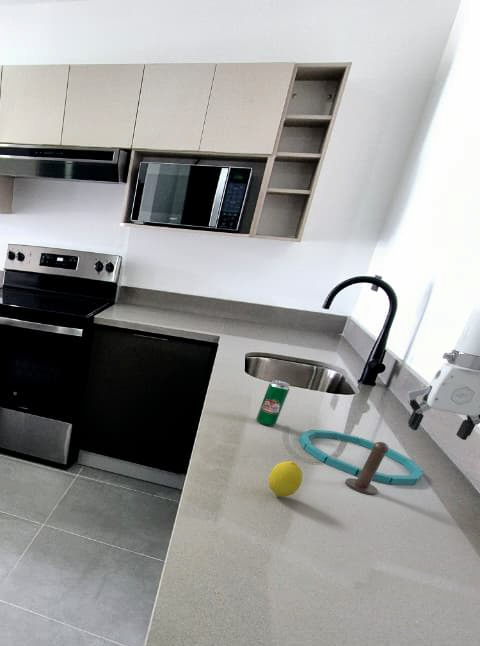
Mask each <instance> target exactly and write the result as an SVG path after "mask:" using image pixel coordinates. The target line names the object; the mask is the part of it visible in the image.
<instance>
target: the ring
mask: <svg viewBox="0 0 480 646" xmlns="http://www.w3.org/2000/svg"><path fill="white" fill-rule="evenodd" d="M313 438H318V439H332V440H338V441H342V442H346V443H351V444H355V445H358V446H361V447H364V448H367V449H369V450H372V446H373V445H374V444H375V443H376V442H375V441H371V440H368V439H366V438H363V437H359V436H357V435H351V434H347V433H344V432H339V431H334V430H326V429H325V430H323V429H309V430H306V431H305V432H302V433H301V434H300V436H299V437H298V442H299V444H300V445H301V447H302V449H303V450H304V452H306V453H307V454H310V455H311V456H312V457H314V458H315V459H317V460H318V461H320V462H322V463H324V464H326V465H328V466H330V467H333V468H335V469H337V470H340V471H343V472H345V473H348V474H350V475H353V476H356V477H357V478H358V477H359V475H360V473H361V471H362V469H363V467H357V466H356V465H353V464H350V463H348V462H346V461H343V460H341V459H339V458H336V457H333V456H331V455H329V454H328V453H325V452H324V451H323V450H321V449H319V448H318V447H316V446H315V445H313V444H312V441H311V440H312V439H313ZM388 448H389V450H388V452H387V453H386V454H385V455H384V456H386V457H388V458H390V459H391V460H394V461H395V462H397V463H399V464H400V465H402V466H403V467H405V469H406V470H407V471H408V472H409V473H410V475H404V474H403V475H402V474H387V473H382V472H378V471H376V473H375V475H374V477H373V479H372V481H374V482H378V483H382V484H387V485H395V486H397V485H398V486H399V485H400V486H414V485H415V484H417V483H418V482H419V481H420V480H421V478H422V477H423V475H424V471H423V469H422V468H420V466H419V465H418V464H417V463H416V462H415V461H414V460H413V459H411V458H409V457H407V456H405V455H403V454H402V453H400V452H398V451H396V450H394V449H392V448H390V447H388Z"/></svg>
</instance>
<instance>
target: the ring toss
mask: <svg viewBox="0 0 480 646" xmlns="http://www.w3.org/2000/svg"><path fill="white" fill-rule="evenodd" d="M374 443H375V444H374V445H373V446H372V449H371V450H370V453H369V454H368V456H367V459H366V460H365V463H364V465H363V467H362V471H361V473H360V475H359V477H358V476H357V478H353V477H349V478H346V479H345V482H344V484H345V485H346V486H347V487H348V488H350V489H352V490H353V491H355V492H358V493H361V494H365V495H369V496H375V495H377V493H378V492H379V491H378V488H377V487H376V486H375V485H374V484H371V483H372V481H373V480H372V479H373V477H374V475H375V473H376V472H378V469H379V468H380V466H381V463H382V461H383V459H384V457H385V456H386V455H385V454H386V453H387V452H388V450H389V448H390V447H389V445H388V444H387V443H385V442H383V441H376V442H374Z"/></svg>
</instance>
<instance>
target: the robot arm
mask: <svg viewBox="0 0 480 646" xmlns="http://www.w3.org/2000/svg"><path fill="white" fill-rule="evenodd" d="M463 327H464V328H463V329H462V332H461V334H460V336H459V338H458V339H457V342H456V344H455V347H454V348H453V349H452V350H451V352H445V353H443V355H442V359H444V360H447V363H446V362H443V364H442V365H441V366H440V368H439V369H438V370H437V372H436V373H435V374H434V376H433V377H432V378H431V380H430V382H429V384H428V385H427V387H426V386H425V387H421V388H415V389H412V390H408V391H407V392H406V396H407V400H408V401H407V403H408V404H409V406H410V408H411V410H412V413H411V415H410V417H409V419H408V421H407V423H408V427H409V428H410V429H411V430H412V431H417V430H418V429H419V427H420V425H421V423H422V421H423V418H424V417H425V416H424V414H423V413H425V412H427V411H429V410H431V409H433V410H435V411H440V412H446V413H450V414H456V415H463V416H465V417H466V419H463V420H462V422H461V424H460V426H459V428H458V430H457V431H456V435H455V436H457V438H460V440H463V441H466V440H468V437H470V436H471V435H472V433H473V431H474V429H475V427H476V425H480V304H477V305H476V306H475V307H474V308H473V309H472V311H471V313H470V315H469V316H468V319H467V321H466V323H465V325H464V326H463ZM419 396H422V398H421V401H420V402H418V401H417V398H418V397H419Z"/></svg>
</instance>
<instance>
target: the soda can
mask: <svg viewBox="0 0 480 646" xmlns="http://www.w3.org/2000/svg"><path fill="white" fill-rule="evenodd" d="M289 392H290V383H288V382H286V381H283V380H279V379H272V380H271V382H269V383H268V386H267V388H266V392H265V394H264V396H263V399H262V402H261V405H260V407H259V410H258V413H257V415H256V418H255V419H256V422H258V424H261V425H263V426H267V427H273V426H276V424H277V422H278V419H279V417H280V414H281V412H282V409H283V407H284V405H285V404H284V403H285V402H286V399H287V397H288V394H289Z"/></svg>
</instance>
